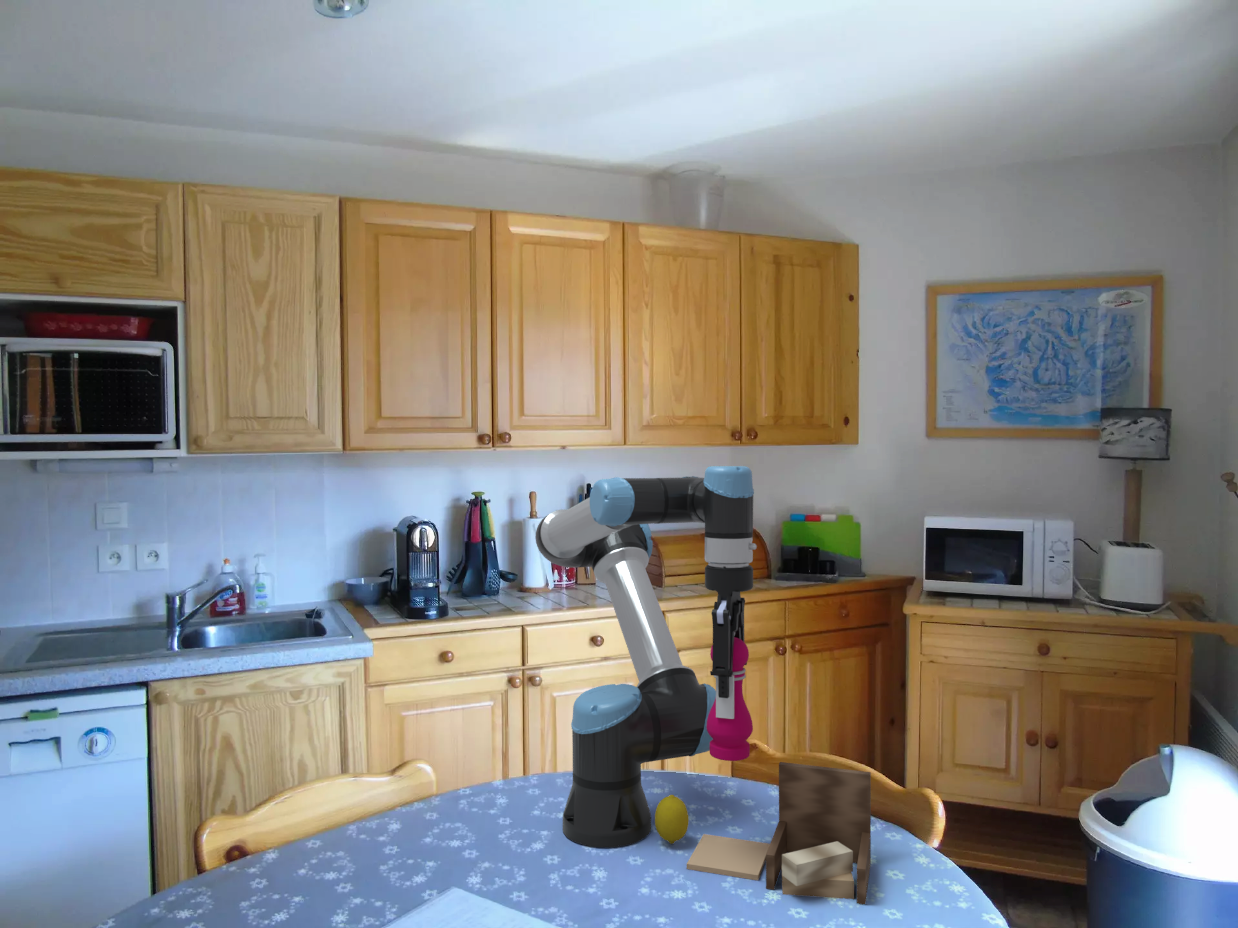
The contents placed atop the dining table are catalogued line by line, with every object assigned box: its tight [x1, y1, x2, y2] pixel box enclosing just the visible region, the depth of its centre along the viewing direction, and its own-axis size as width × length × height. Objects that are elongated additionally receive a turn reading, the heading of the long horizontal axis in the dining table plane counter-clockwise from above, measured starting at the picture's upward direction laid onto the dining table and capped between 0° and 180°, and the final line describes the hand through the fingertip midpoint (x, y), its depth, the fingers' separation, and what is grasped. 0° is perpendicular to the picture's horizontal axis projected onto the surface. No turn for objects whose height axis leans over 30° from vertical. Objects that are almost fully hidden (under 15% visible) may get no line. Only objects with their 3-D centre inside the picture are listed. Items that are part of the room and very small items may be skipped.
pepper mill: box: [706, 633, 754, 762], centre depth 134 cm, size 7×7×20 cm
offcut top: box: [782, 841, 854, 886], centre depth 123 cm, size 10×4×3 cm, turn 115°
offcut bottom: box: [780, 865, 855, 900], centre depth 124 cm, size 10×4×3 cm, turn 82°
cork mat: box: [686, 833, 770, 881], centre depth 134 cm, size 11×11×1 cm
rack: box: [765, 761, 872, 905], centre depth 128 cm, size 14×14×14 cm
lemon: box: [654, 794, 690, 845], centre depth 139 cm, size 6×6×8 cm
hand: (729, 711), depth 133 cm, fingers closed on pepper mill, 5 cm apart
